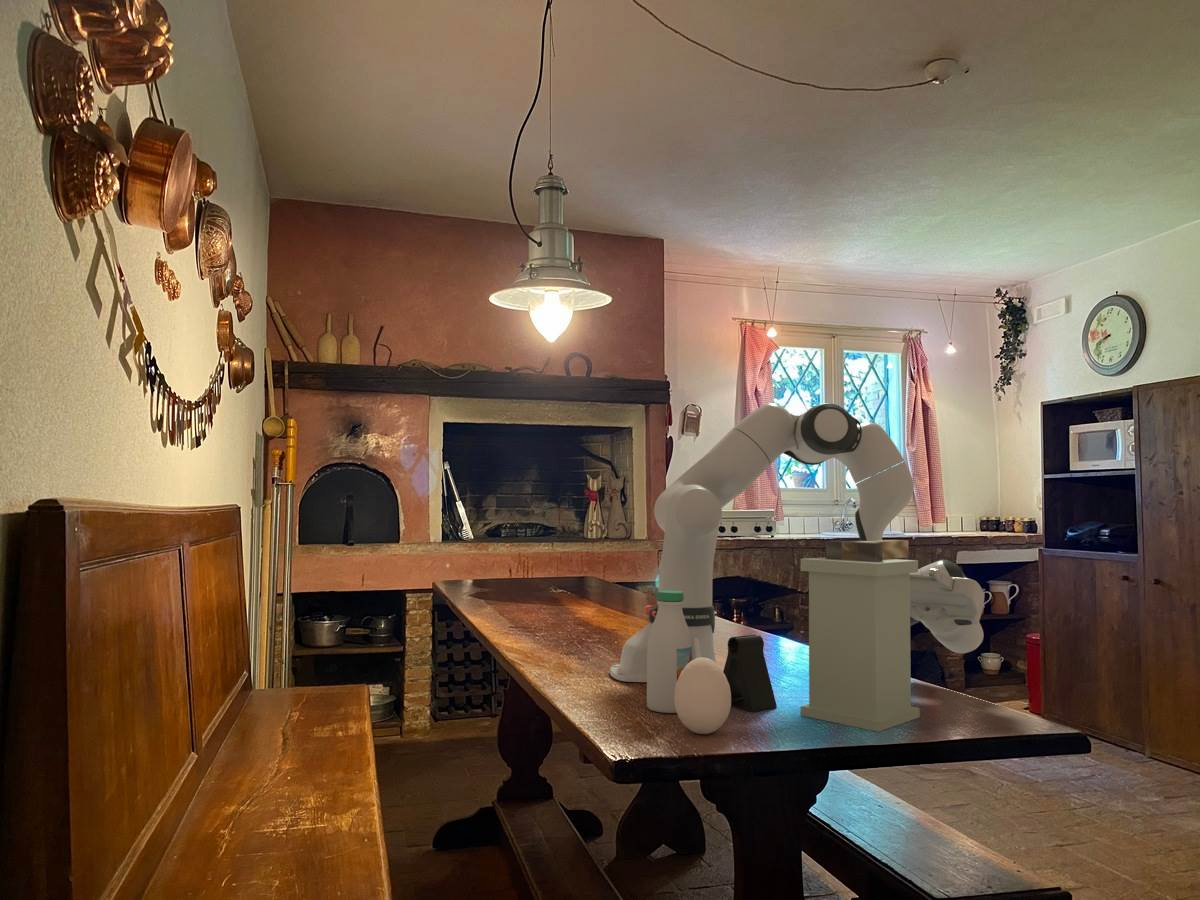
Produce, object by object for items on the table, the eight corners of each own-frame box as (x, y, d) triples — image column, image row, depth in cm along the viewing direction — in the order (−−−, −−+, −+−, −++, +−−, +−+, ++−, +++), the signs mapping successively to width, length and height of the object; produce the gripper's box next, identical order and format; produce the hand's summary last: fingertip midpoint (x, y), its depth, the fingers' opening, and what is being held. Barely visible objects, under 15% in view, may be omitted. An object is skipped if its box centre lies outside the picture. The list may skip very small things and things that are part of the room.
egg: (671, 726, 136) (672, 652, 137) (726, 726, 136) (726, 653, 137) (677, 740, 127) (677, 662, 128) (735, 741, 128) (735, 663, 128)
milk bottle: (661, 716, 142) (662, 593, 144) (638, 706, 149) (639, 589, 150) (700, 711, 146) (701, 592, 147) (676, 702, 153) (677, 588, 154)
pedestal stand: (843, 702, 154) (843, 556, 156) (919, 717, 144) (917, 560, 146) (800, 715, 144) (800, 558, 146) (878, 731, 134) (877, 563, 136)
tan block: (877, 555, 159) (877, 539, 160) (924, 558, 153) (924, 541, 153) (825, 558, 147) (825, 541, 147) (875, 561, 140) (874, 543, 141)
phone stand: (776, 708, 149) (776, 638, 150) (752, 712, 146) (752, 640, 146) (739, 698, 156) (739, 631, 157) (715, 702, 153) (715, 634, 154)
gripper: (889, 585, 175) (860, 552, 167) (993, 594, 160) (966, 558, 152) (882, 613, 172) (852, 581, 164) (987, 625, 158) (959, 590, 150)
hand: (908, 570), depth 158 cm, fingers open, 8 cm apart
